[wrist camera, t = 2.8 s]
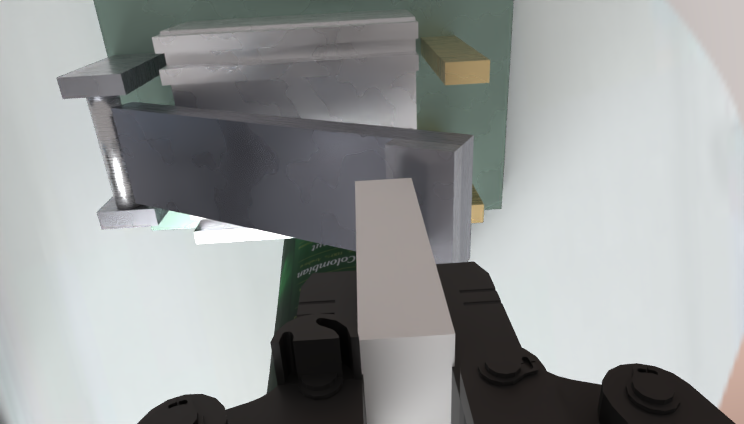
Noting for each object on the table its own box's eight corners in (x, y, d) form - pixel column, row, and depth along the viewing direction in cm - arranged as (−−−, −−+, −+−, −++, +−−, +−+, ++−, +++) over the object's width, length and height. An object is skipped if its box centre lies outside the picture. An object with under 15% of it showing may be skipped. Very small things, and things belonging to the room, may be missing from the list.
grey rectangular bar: (154, 194, 23) (123, 209, 22) (132, 101, 21) (96, 111, 20) (469, 258, 17) (452, 284, 15) (473, 134, 15) (454, 152, 14)
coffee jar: (269, 188, 29) (188, 575, 14) (412, 158, 28) (496, 529, 13) (317, 311, 34) (298, 686, 19) (438, 288, 34) (518, 657, 19)
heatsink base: (157, 222, 30) (96, 305, 22) (100, -11, 25) (-3, 0, 17) (496, 201, 30) (543, 277, 23) (509, -34, 25) (575, -32, 18)
